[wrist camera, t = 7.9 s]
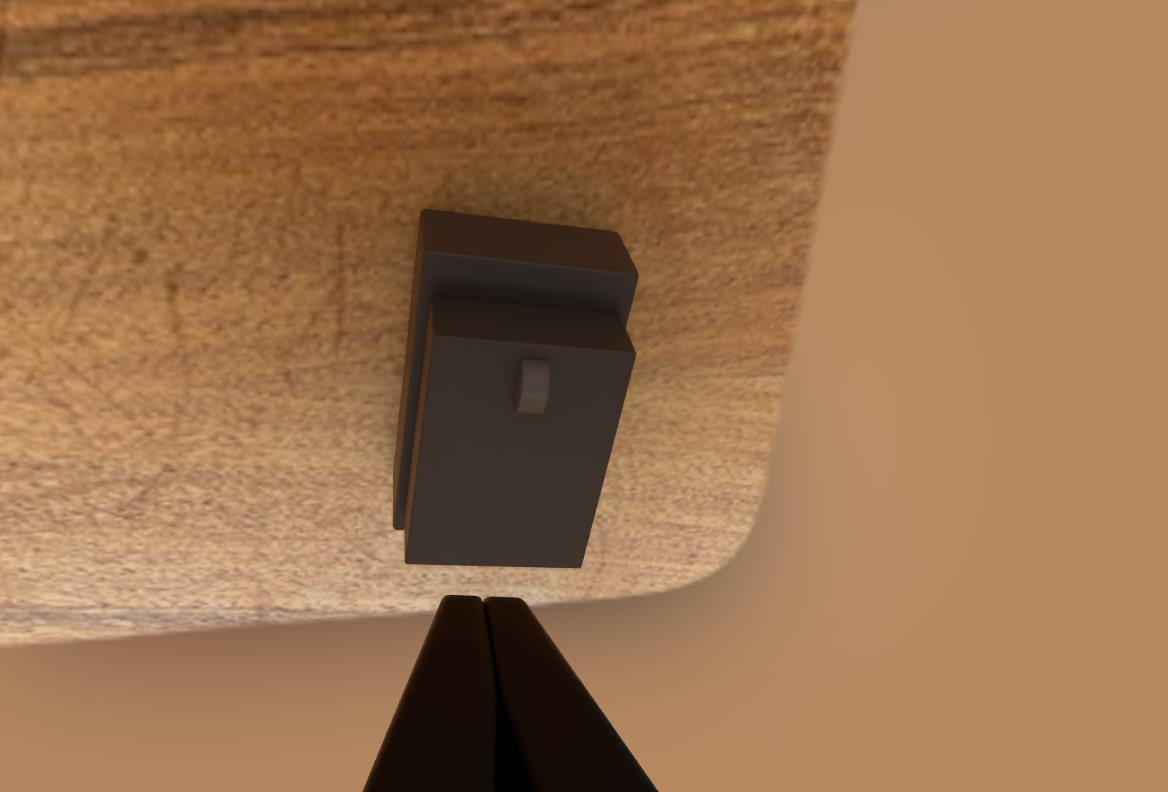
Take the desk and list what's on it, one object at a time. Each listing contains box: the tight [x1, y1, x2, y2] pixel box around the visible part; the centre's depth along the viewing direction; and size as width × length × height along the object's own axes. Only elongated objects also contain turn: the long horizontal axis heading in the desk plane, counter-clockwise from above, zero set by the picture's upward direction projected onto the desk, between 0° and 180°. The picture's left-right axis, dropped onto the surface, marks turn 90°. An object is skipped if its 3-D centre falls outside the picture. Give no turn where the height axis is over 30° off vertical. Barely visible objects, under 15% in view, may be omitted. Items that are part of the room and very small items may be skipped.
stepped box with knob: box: [393, 209, 639, 568], centre depth 18 cm, size 4×6×4 cm, turn 169°
